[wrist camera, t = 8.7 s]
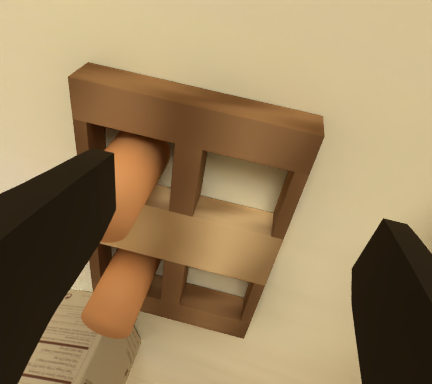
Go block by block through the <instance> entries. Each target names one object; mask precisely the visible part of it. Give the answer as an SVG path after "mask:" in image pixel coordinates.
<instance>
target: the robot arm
mask: <svg viewBox="0 0 432 384" xmlns="http://www.w3.org/2000/svg"><path fill="white" fill-rule="evenodd" d="M115 211H116V187H115V160H114V153H112V152H107V151H103V150H99V149H95V148H91V149H89V150H87V151H85V152H83V153H81V154H79V155H77V156H75V157H73V158H71V159H69V160H67V161H65V162H64V163H62V164H60V165H58V166H56V167H54V168H52V169H50V170H48V171H46V172H44V173H42V174H40V175H38V176H36V177H34V178H32V179H30V180H28V181H27V182H25V183H23V184H20V185H18V186H16V187H14V188H12V189H10V190H7V191H5V192H3V193H1V194H0V384H18V383H19V381H20V379H21V376H22V374H23V372H24V370H25V368H26V366H27V364H28V362H29V360H30V358H31V356H32V354H33V352H34V350H35V349H36V347H37V345H38V343H39V341H40V339H41V337H42V335H43V333H44V331H45V329H46V327H47V325H48V324H49V322H50V320H51V318H52V317H53V315H54V313H55V312H56V310H57V308H58V307H59V305H60V304H61V302H62V301H63V299H64V297H65V296H66V294H67V293H68V291H69V290H70V288H71V287H72V285H73V284H74V282H75V281H76V279H77V278H78V276H79V275H80V273H81V271H82V270H83V268H84V267H85V265H86V264H87V262H88V261H89V259H90V258H91V256H92V255H93V253H94V251H95V250H96V248H97V247H98V245H99V244H100V242H101V240H102V239H103V236H104V234H105V232H106V230H107V228H108V226H109V224H110V222H111V220H112V218H113V215H114V213H115ZM351 290H352V312H353V320H354V327H355V335H356V343H357V350H358V357H359V365H360V372H361V379H362V384H432V254H431V252H430V251H429V250H428V249H427V247H426V246H425V245H424V244H423V242H422V241H421V240H420V239H419V237H418V236H417V235H416V234H415V233H414V231H413V230H412V229H411V228H410V227H409V226H408V225H407V224H404V223H400V222H396V221H392V220H388V219H384V218H383V220H382V221H381V223H380V224H379V226H378V228H377V229H376V231H375V232H374V234H373V236H372V237H371V239H370V240H369V242H368V244H367V245H366V247H365V248H364V250H363V252H362V253H361V255H360V256H359V258H358V260H357V261H356V263H355V264H354V266H353V268H352V287H351Z"/></svg>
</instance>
